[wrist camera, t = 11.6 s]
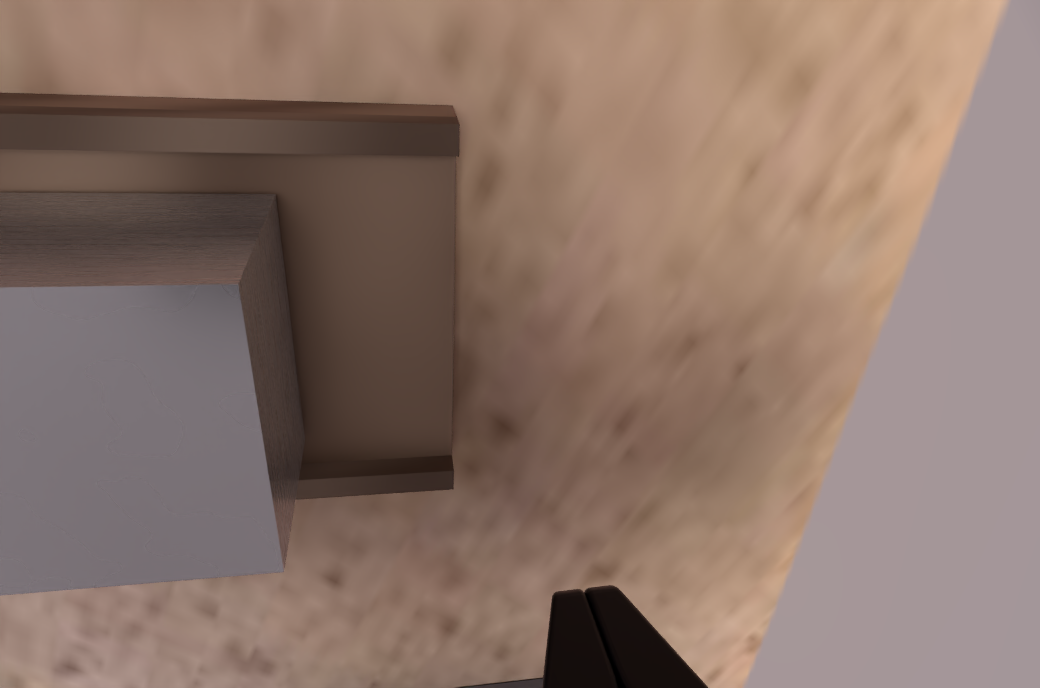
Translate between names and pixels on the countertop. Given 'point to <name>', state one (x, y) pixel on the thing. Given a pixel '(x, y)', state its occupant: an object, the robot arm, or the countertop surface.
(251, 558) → the grey small block
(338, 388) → the track
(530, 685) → the dark grey square frame
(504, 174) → the countertop surface
